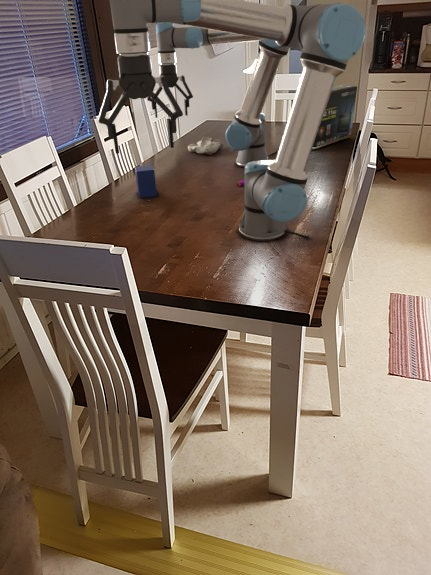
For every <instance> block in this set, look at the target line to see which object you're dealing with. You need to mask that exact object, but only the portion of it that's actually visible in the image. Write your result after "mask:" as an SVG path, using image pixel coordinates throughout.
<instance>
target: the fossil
mask: <svg viewBox="0 0 431 575" xmlns="http://www.w3.org/2000/svg"><path fill="white" fill-rule="evenodd" d="M223 147H224V142H223V141H222V140H221V139H219V138H216V139H213V138H212V137H211V136H206V135H205V136H202V138H201V139H200V140H199V141H197V142H196V143H194V142H193V143H191V144H189V145H188V146H187V149H188V151H189V152H191V153H197V154H206V155H208V156H212V155H213V154H215V153H217V151H218V150H219V149H220V148H223Z"/></svg>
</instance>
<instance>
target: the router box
mask: <svg viewBox="0 0 431 575" xmlns="http://www.w3.org/2000/svg"><path fill="white" fill-rule="evenodd" d="M357 93H358V86H356V85H350V84H339V85H338V84H337V85H333V88H332V91H331V94H330V97H329V100H328V103H327V106H326V109H325V112H324V115H323V118H322V121H321V124H320V126H319V129H318V132H317V135H316V138H315V141H314V144H313V147H317V146H320V145H323V144H325V143H328V142H331V141H333V140H336V139H338V138H341V137H344V136H347V135H351V136H352V133H353V132H352V131H353V125H354V115H355V109H356V99H357Z"/></svg>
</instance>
